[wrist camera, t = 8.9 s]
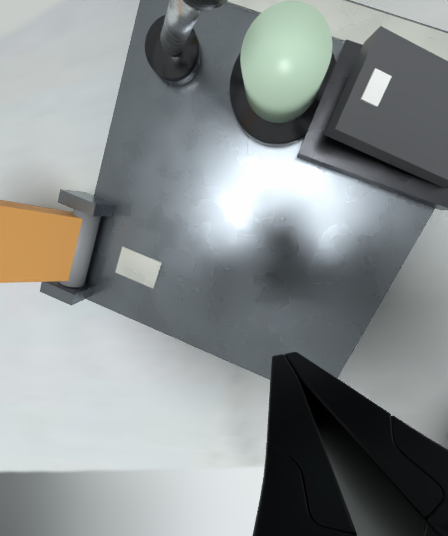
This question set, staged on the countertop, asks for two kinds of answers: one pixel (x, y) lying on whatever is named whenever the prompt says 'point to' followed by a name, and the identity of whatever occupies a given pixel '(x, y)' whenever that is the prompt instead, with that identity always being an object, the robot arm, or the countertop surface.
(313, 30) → the button
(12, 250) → the paddle
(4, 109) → the countertop surface
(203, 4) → the toggle
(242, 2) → the panel
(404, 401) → the countertop surface
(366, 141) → the labelled grey box
